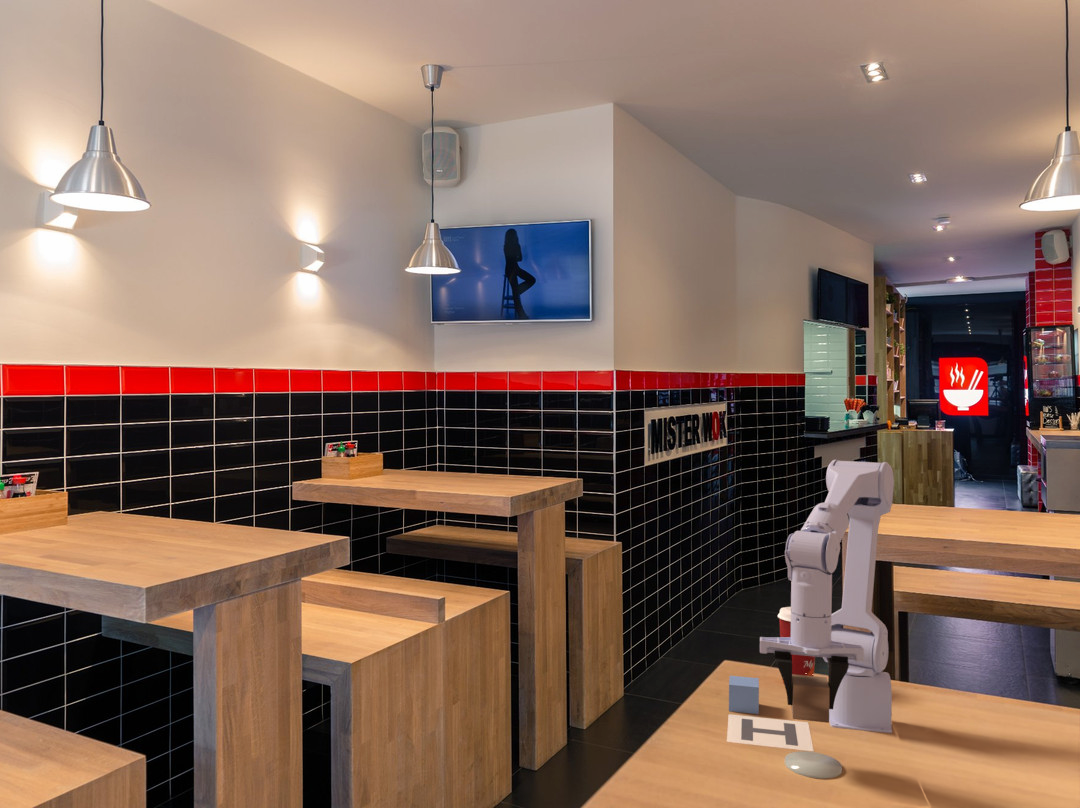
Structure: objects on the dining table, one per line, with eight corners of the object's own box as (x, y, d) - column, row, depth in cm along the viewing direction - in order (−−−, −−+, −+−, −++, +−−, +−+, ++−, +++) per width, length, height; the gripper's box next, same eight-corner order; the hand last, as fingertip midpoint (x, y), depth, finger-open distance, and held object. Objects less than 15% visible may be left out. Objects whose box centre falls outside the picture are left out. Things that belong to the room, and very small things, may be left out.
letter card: (808, 724, 137) (808, 722, 137) (813, 753, 125) (813, 751, 125) (728, 715, 140) (728, 713, 140) (726, 743, 128) (726, 741, 128)
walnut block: (826, 710, 123) (826, 677, 123) (829, 722, 118) (829, 688, 118) (791, 707, 124) (791, 674, 124) (792, 719, 119) (793, 684, 119)
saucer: (838, 760, 123) (838, 754, 123) (845, 783, 115) (845, 777, 115) (783, 753, 125) (783, 748, 125) (785, 776, 117) (785, 771, 117)
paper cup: (821, 691, 152) (822, 616, 153) (778, 688, 154) (779, 614, 154) (815, 678, 160) (816, 607, 160) (775, 675, 162) (776, 604, 162)
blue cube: (758, 706, 145) (758, 678, 145) (758, 716, 140) (758, 687, 140) (729, 703, 146) (729, 675, 146) (728, 713, 141) (729, 684, 141)
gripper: (760, 615, 119) (759, 709, 119) (867, 623, 115) (865, 720, 115) (760, 604, 126) (759, 693, 125) (860, 611, 122) (859, 702, 122)
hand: (809, 704), depth 121 cm, fingers closed on walnut block, 5 cm apart
